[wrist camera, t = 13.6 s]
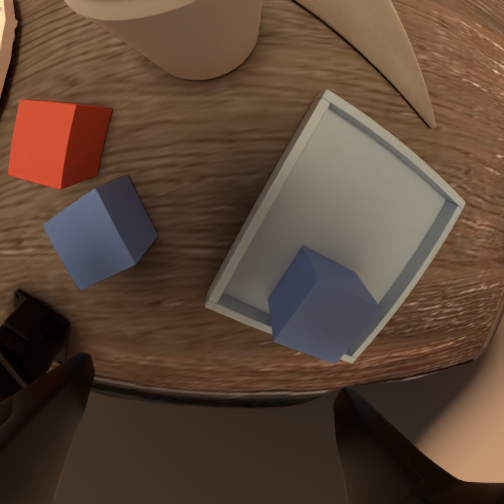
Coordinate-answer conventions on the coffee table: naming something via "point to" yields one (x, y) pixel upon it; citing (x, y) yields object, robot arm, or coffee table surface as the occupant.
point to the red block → (57, 142)
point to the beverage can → (181, 31)
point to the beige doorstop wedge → (379, 44)
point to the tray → (339, 217)
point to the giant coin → (6, 37)
